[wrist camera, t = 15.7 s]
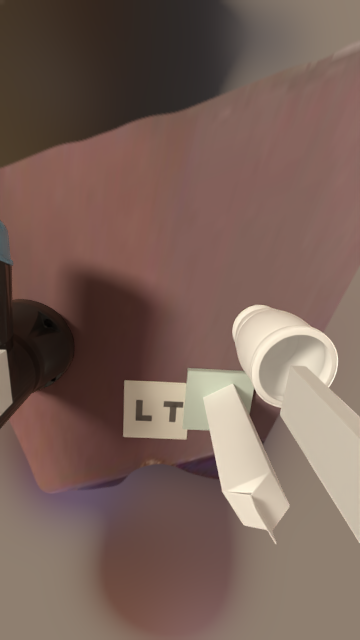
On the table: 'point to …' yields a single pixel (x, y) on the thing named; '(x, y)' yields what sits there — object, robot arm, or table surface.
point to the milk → (243, 462)
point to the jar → (280, 350)
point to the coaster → (208, 383)
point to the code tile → (154, 409)
